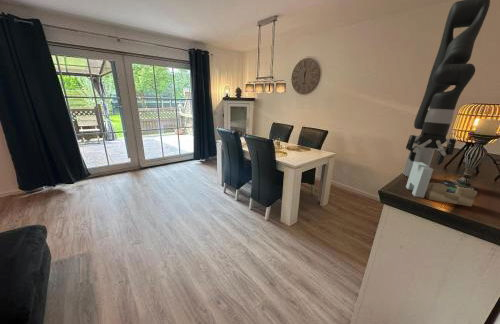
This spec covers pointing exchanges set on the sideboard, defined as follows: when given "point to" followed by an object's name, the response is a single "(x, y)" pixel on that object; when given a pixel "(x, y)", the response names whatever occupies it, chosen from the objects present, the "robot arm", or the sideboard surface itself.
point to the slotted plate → (419, 179)
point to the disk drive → (451, 186)
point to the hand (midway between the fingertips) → (424, 162)
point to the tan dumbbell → (451, 194)
